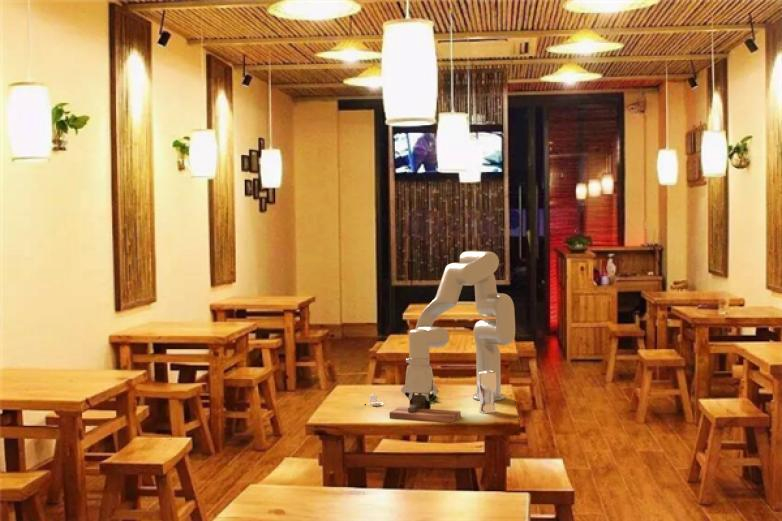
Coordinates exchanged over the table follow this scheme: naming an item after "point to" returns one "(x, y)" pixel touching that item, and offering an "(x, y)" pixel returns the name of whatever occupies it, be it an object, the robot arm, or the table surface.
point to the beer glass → (487, 390)
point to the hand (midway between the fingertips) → (420, 410)
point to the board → (426, 414)
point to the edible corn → (432, 398)
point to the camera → (417, 402)
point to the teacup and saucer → (374, 400)
